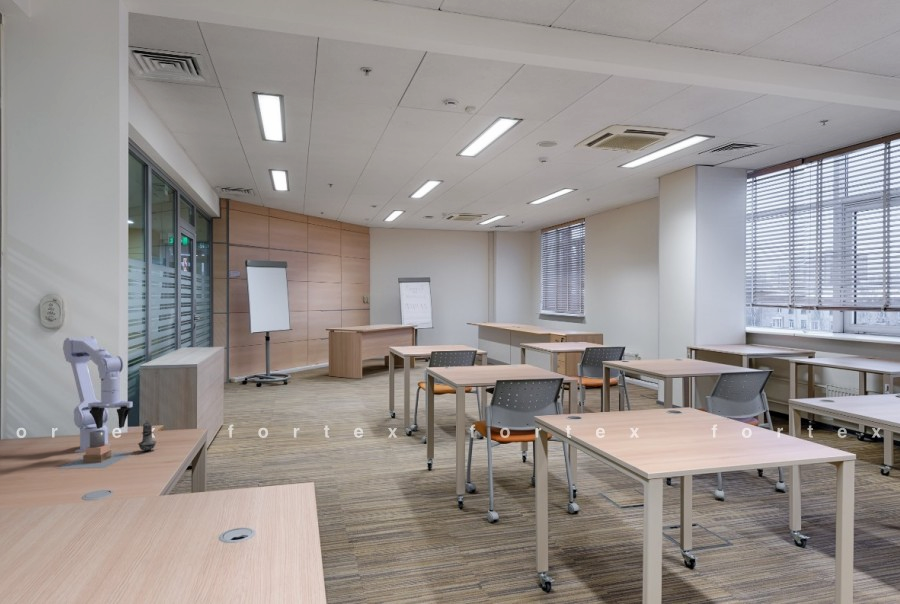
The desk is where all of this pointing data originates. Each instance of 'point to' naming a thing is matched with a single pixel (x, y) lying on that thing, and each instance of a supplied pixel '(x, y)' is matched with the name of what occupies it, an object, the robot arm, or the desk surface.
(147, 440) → the salt shaker
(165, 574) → the desk surface
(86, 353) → the robot arm
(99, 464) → the mat
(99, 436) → the dark grey cylinder
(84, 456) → the tower base
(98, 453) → the tower middle
